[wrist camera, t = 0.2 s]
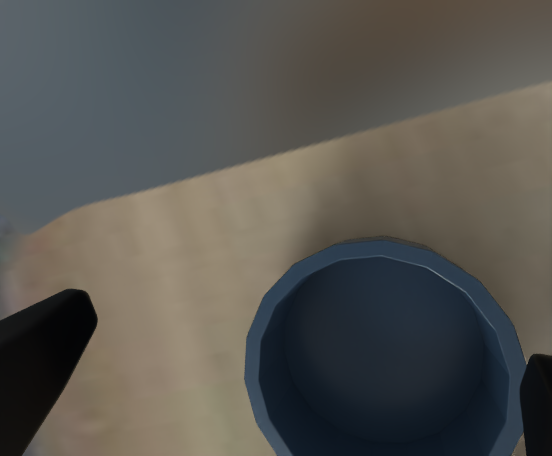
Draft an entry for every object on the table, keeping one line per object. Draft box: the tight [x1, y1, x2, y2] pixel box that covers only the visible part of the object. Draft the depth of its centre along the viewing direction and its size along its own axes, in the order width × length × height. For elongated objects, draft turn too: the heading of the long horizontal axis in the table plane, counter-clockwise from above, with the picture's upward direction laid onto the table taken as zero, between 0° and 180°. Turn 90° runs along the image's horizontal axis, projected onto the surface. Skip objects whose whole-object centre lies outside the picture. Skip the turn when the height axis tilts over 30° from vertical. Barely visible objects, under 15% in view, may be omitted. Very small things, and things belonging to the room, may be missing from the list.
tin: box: [244, 236, 527, 456], centre depth 20 cm, size 11×12×5 cm
